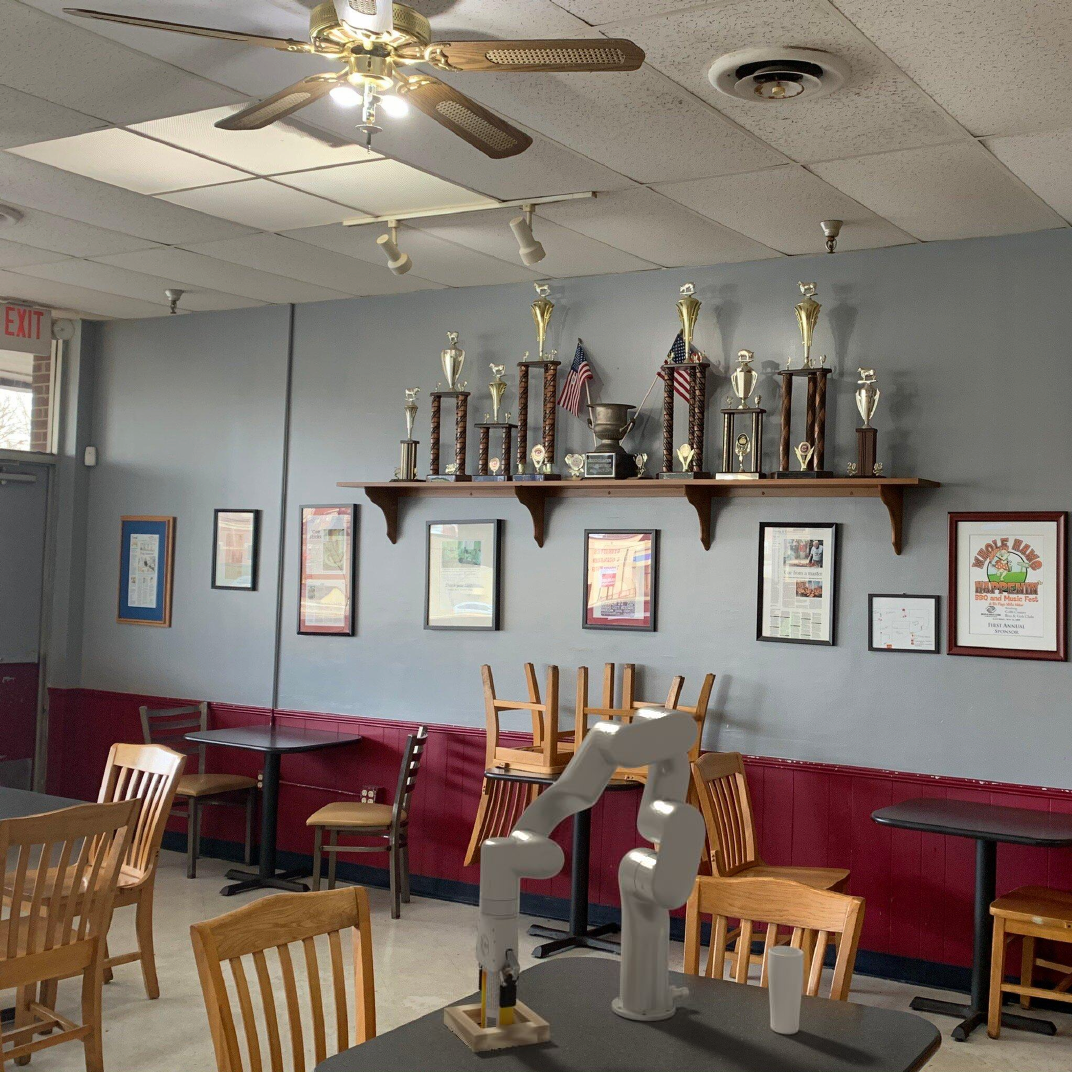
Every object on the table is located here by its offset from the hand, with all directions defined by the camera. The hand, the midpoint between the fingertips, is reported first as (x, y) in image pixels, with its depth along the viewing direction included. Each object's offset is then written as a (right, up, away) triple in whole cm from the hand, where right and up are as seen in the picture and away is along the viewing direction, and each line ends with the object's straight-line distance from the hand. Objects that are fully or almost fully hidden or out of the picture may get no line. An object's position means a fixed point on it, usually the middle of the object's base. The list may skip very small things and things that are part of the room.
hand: (496, 998), depth 224 cm
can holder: (0, -6, 0) cm, 6 cm away
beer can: (0, -7, 0) cm, 7 cm away
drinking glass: (+55, -8, +5) cm, 56 cm away
